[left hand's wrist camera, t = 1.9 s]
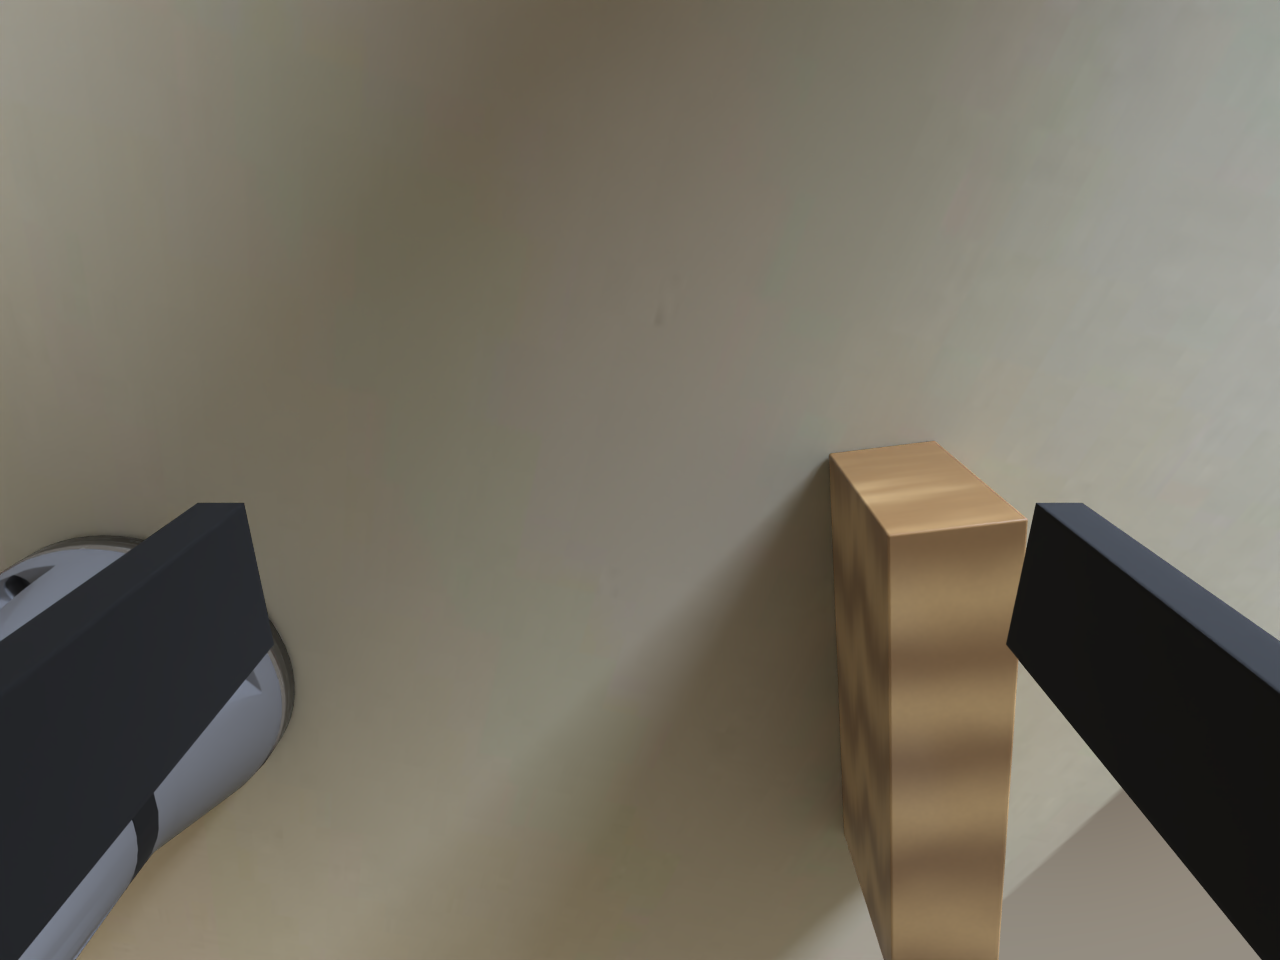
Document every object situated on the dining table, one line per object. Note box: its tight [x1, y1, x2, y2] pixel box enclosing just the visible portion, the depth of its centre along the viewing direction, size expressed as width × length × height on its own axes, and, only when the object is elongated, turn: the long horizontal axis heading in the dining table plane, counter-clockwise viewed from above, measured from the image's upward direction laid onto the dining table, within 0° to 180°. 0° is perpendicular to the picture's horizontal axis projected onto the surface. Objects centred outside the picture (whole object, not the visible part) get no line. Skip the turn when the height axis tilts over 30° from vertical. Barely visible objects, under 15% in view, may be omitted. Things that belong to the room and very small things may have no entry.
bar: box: [829, 441, 1028, 960], centre depth 34 cm, size 23×5×9 cm, turn 7°
